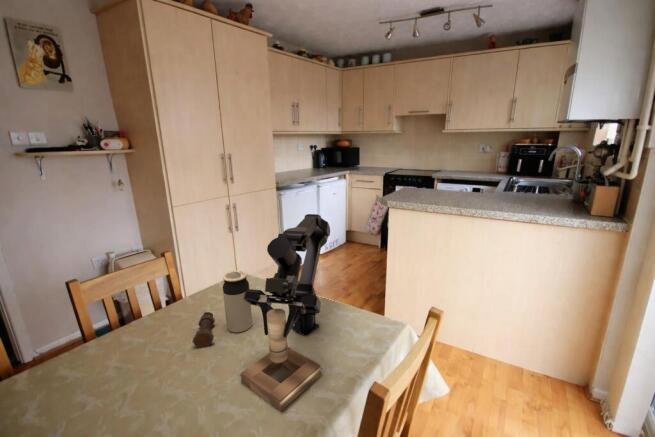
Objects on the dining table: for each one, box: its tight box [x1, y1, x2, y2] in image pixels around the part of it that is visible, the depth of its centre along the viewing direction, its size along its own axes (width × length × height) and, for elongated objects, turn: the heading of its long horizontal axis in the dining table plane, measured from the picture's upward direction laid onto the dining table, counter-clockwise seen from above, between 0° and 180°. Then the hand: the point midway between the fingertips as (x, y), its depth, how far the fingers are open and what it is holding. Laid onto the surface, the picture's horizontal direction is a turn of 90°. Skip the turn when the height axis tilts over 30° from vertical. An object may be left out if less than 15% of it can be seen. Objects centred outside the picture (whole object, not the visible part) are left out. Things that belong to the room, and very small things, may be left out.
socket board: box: [238, 347, 323, 412], centre depth 78 cm, size 14×15×3 cm
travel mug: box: [222, 269, 253, 333], centre depth 99 cm, size 8×8×18 cm
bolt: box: [191, 311, 216, 349], centre depth 97 cm, size 6×5×15 cm
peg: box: [267, 308, 288, 363], centre depth 75 cm, size 4×4×12 cm
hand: (275, 336), depth 74 cm, fingers closed on peg, 4 cm apart
